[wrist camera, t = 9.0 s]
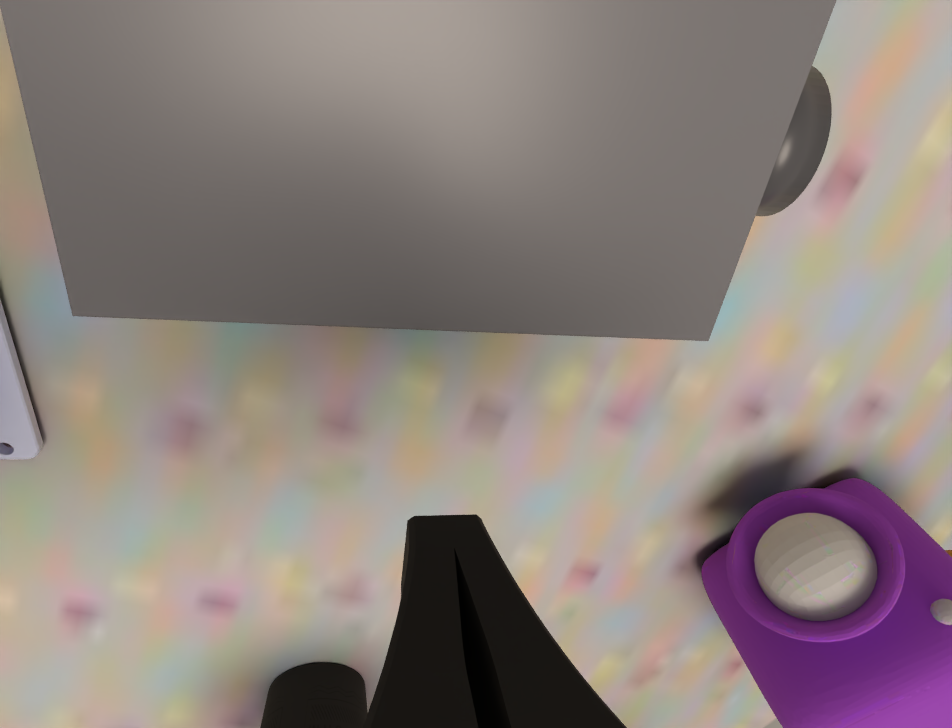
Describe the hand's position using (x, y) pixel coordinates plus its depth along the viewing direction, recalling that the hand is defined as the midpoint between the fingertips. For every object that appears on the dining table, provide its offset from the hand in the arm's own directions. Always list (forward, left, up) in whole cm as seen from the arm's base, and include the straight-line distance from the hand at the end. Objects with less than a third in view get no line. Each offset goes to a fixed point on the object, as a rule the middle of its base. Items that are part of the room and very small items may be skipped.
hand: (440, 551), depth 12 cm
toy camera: (+20, -12, -11) cm, 26 cm away
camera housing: (0, +7, -10) cm, 13 cm away
